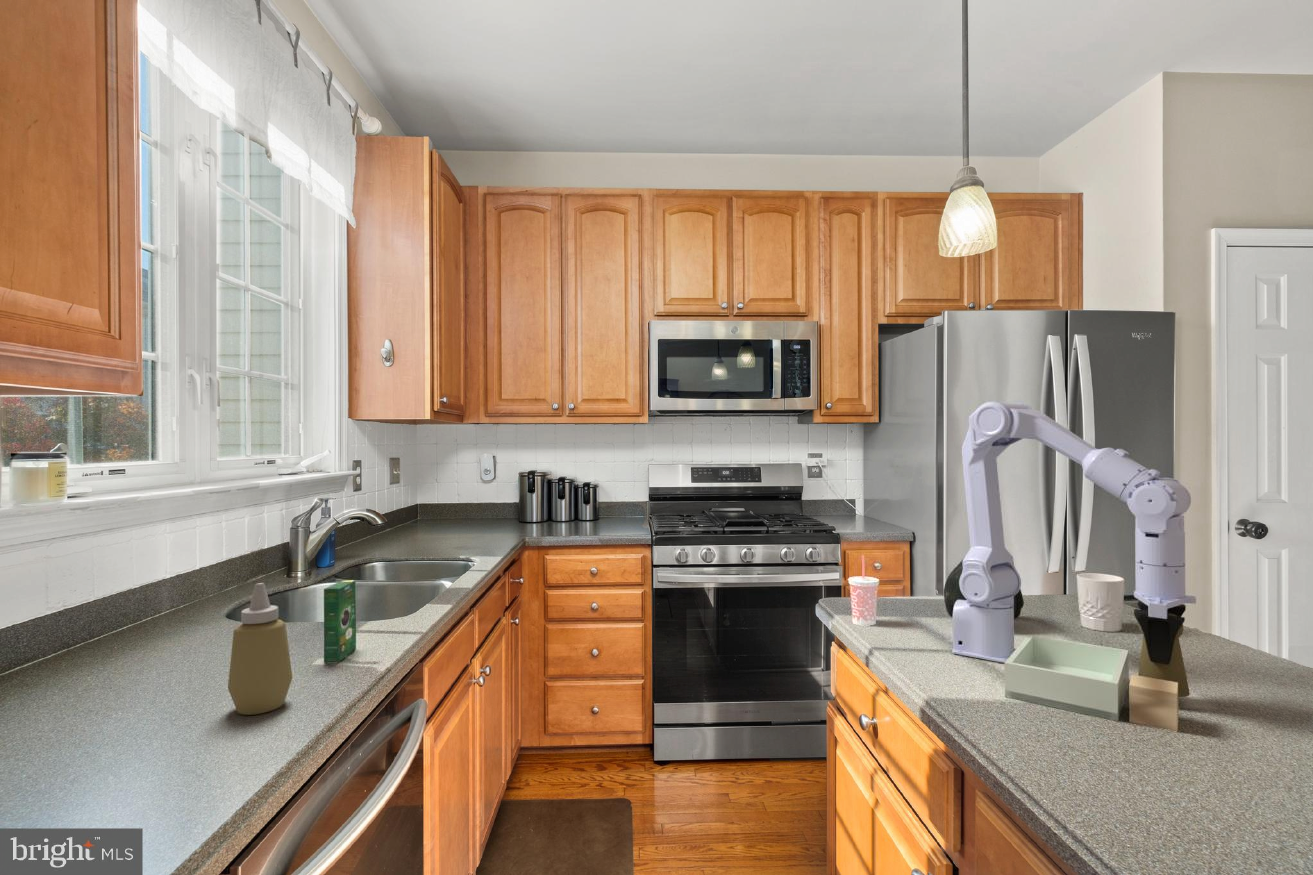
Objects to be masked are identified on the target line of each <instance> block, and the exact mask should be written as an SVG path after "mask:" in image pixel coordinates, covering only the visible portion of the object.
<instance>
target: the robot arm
mask: <svg viewBox="0 0 1313 875" xmlns="http://www.w3.org/2000/svg"><path fill="white" fill-rule="evenodd" d="M968 424H969V425H968V426H969V427H968V430H967V433H966V435H965V438H964V440H963V443H962V445H961V446H962V447H961V458H962V460H961V463H962V469H963V470H962V471H963V479H964V480H963V482H964V491H965V492H964V493H965V501H966V503H965V504H966V514H967V515H966V516H967V524H968V534H969V535H968V536H969V546H970V548H969V550H968V551H967V553H966V554H965V556H964V557H965V558H964V559H962V560H963V561H962V560H961V561H962V563H963V571H962V574H961V577H960V580H959V586H960V590H961V592H962V594H963V596H964V597H965V598H966V599H967V600H957V601H956V602H955V605H954V609H953V618H952V650H951V653H952V654H955V655H960V656H967V657H970V658H976V659H983V660H986V661H992V662H998V663H1004V664H1005V662H1006V661H1007V659H1008V658H1009V657H1010V656H1011V655H1012V654H1013V652H1014V651H1015V650H1016V649H1017V648H1015V620H1014V606H1013V605H1014V596H1015V595H1016V594H1017V593H1018V592H1019V590H1020V589H1021V587H1022V579H1021V575H1020V574H1019V572H1018V571H1017V568H1016V566H1015V562H1014V556H1013V555H1012V554H1011V553H1010V552H1009V551H1008V549H1007V548H1006V546H1005V544H1006V543H1005V536H1004V527H1003V525H1004V524H1003V516H1002V504H1001V493H1000V485H999V484H1000V483H999V472H998V462H997V459H998V457H1000V455H1001V454H1002V453H1003V452H1005V450H1007V448H1009V446H1010V445H1013V444H1015V443H1017V442H1019V441H1021V440H1023V439H1024V440H1025V439H1028V440H1030V439H1031V440H1035V441H1038V442H1040V443H1041V444H1043V445H1045V446H1047V447H1048V448H1051V449H1052V450H1054V451H1056V452H1057V453H1059V454H1061V455H1063V456H1064V457H1066V458H1067V459H1070V460H1071V461H1074V463H1077V464H1078V465H1080V466H1082V467H1081V468H1082V470H1083V471H1082V472H1083V475H1084V477H1085V478H1086V479H1088V480H1089V481H1090V482H1092V483H1093V484H1095V485H1097V486H1098V487H1100V488H1101V489H1103V490H1104V491H1106V492H1108V494H1109V493H1110V494H1111V495H1112V496H1114V497H1116V499H1119V500H1120V501H1122V502H1124V503H1126V504H1127V506H1128V510H1130V512H1131V513H1132V515H1133V516H1134V517H1135V530H1134V533H1135V534H1134V541H1135V542H1134V546H1135V549H1134V550H1135V552H1134V553H1135V556H1134V557H1135V560H1134V561H1135V568H1134V569H1135V574H1134V575H1135V576H1134V577H1135V590H1133V597H1134V598H1135V599H1136V600H1138V601H1137V606H1138V607H1139V608H1135V609H1134V610H1133V616H1134V617H1135V619H1136V620H1137V624H1138V623H1139V625H1140V627H1141V629H1142V631H1143V633H1142V634H1144V638H1145V642H1146V647H1147V651H1148V655H1149V659H1150V661H1151V662H1154V663H1160V664H1166V665H1169V663H1170V660H1171V656H1172V651H1173V646H1174V641H1175V638H1176V635H1177V632H1178V631H1179V629H1180V627H1181V626H1182V624H1183V625H1184V623H1185V620H1186V619H1185V618H1186V617H1183V614H1184V613H1185V611H1186V608H1187V605H1186V604H1194V605H1195V604H1196V603H1197V597H1196V596H1194V595H1188V594H1186V532H1185V515H1184V514H1186V512H1187V511H1188V509H1189V508H1190V506H1191V502H1192V497H1191V494H1190V492H1189V490H1188V489H1187V487H1185V485H1183V484H1182V483H1180V482H1179V480H1178V479H1176V478H1173V477H1172V478H1171V477H1160V475H1161V472H1160V471H1159V470H1157V469H1155V468H1151V469H1149V468H1147V467H1146V466H1144V465H1142V464H1140V463H1139V462H1137V461H1135V460H1133V459H1132V458H1130V457H1128V456H1129V455H1130V453H1129V452H1128V451H1126V450H1124V449H1123V448H1117V449H1115V448H1113V447H1104V448H1096V447H1095V446H1094V445H1092V444H1090V443H1089V442H1087V441H1086V440H1084V439H1083V438H1082V437H1080V436H1079V435H1077V434H1075V433H1074V432H1072V431H1071V430H1069V429H1068V428H1066V427H1064V426H1063V425H1062V424H1059V422H1057V421H1055V420H1054V419H1052V418H1051V417H1050V416H1048V415H1047V414H1046V413H1044V412H1042V411H1040V410H1037V409H1034V408H1032V407H1031V406H1029V405H1028V404H1026V403H1023V402H1014V403H1009V402H1007V403H1006V402H997V401H988V402H985V403H983V404H981V405H980V406H978V408H976V409H975V410H974V411H973V412H972V413H971V414H970V415H969V417H968ZM1169 613H1171V614H1174V615H1176V616H1169ZM1177 616H1178V617H1177Z"/></svg>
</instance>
